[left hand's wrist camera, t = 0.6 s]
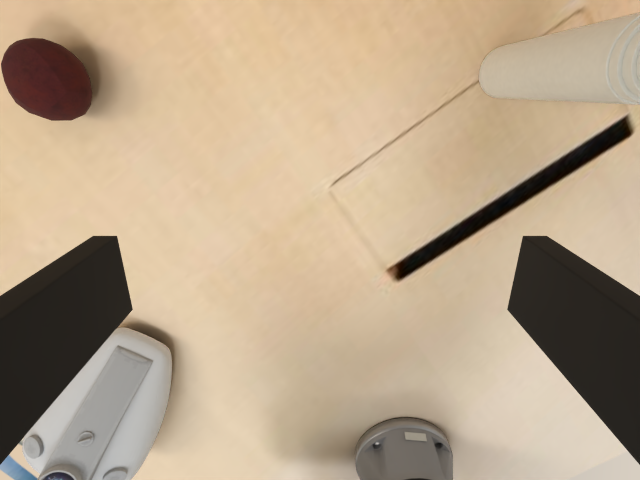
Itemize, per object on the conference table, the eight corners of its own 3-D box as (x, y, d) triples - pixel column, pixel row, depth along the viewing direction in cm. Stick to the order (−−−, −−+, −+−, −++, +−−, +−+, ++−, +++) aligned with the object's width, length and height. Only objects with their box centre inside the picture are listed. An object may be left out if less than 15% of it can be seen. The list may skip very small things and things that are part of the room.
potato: (67, 27, 39) (16, 15, 32) (121, 94, 41) (83, 95, 35) (19, 71, 40) (-39, 67, 34) (74, 133, 43) (29, 141, 36)
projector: (219, 428, 59) (189, 528, 46) (90, 459, 62) (26, 563, 48) (155, 313, 52) (96, 392, 38) (11, 354, 54) (-93, 442, 40)
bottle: (519, 100, 42) (780, 113, 18) (473, 95, 42) (675, 103, 18) (533, 47, 40) (846, -14, 16) (485, 42, 40) (729, -28, 16)
